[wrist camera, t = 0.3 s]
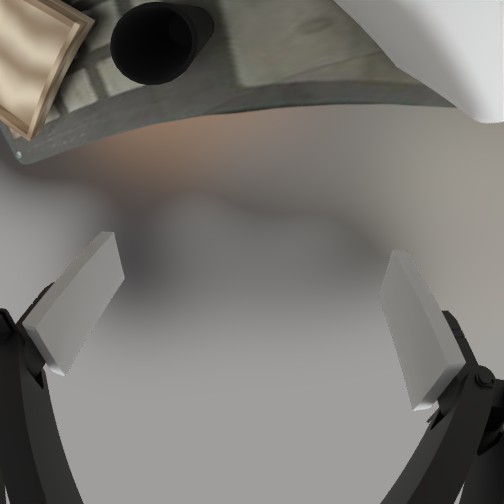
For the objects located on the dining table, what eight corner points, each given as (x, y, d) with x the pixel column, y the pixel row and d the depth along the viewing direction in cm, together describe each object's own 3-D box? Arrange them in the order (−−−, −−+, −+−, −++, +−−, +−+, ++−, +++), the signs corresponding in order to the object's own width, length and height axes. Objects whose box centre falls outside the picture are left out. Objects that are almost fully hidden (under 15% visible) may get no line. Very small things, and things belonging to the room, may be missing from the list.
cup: (236, 34, 27) (216, 53, 19) (182, 67, 30) (144, 101, 22) (199, -14, 22) (161, -16, 14) (146, 23, 25) (94, 42, 18)
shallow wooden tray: (24, -33, 14) (-15, -25, 9) (115, 15, 24) (80, 25, 19) (-14, 63, 24) (-47, 83, 19) (59, 115, 34) (29, 141, 29)
